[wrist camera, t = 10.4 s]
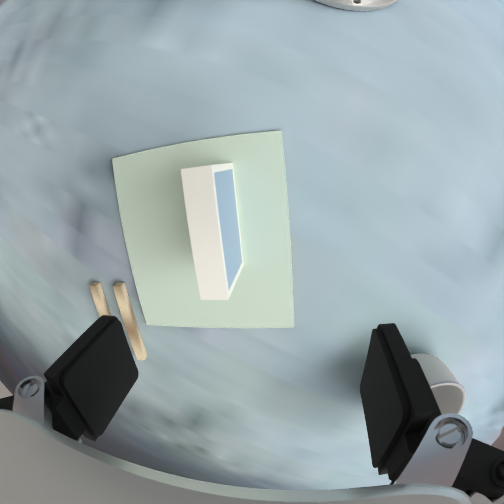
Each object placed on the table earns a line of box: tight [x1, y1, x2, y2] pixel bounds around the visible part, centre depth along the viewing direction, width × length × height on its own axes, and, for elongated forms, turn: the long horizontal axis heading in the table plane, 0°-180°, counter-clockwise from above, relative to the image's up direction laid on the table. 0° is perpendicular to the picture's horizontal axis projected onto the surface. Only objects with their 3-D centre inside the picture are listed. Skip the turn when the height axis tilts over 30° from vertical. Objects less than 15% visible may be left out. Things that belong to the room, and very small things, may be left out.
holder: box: [90, 282, 147, 361], centre depth 30 cm, size 10×5×1 cm, turn 6°
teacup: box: [411, 353, 466, 415], centre depth 24 cm, size 14×11×8 cm
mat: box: [112, 131, 294, 328], centre depth 25 cm, size 18×16×1 cm
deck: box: [181, 163, 244, 300], centre depth 21 cm, size 9×2×6 cm, turn 6°
